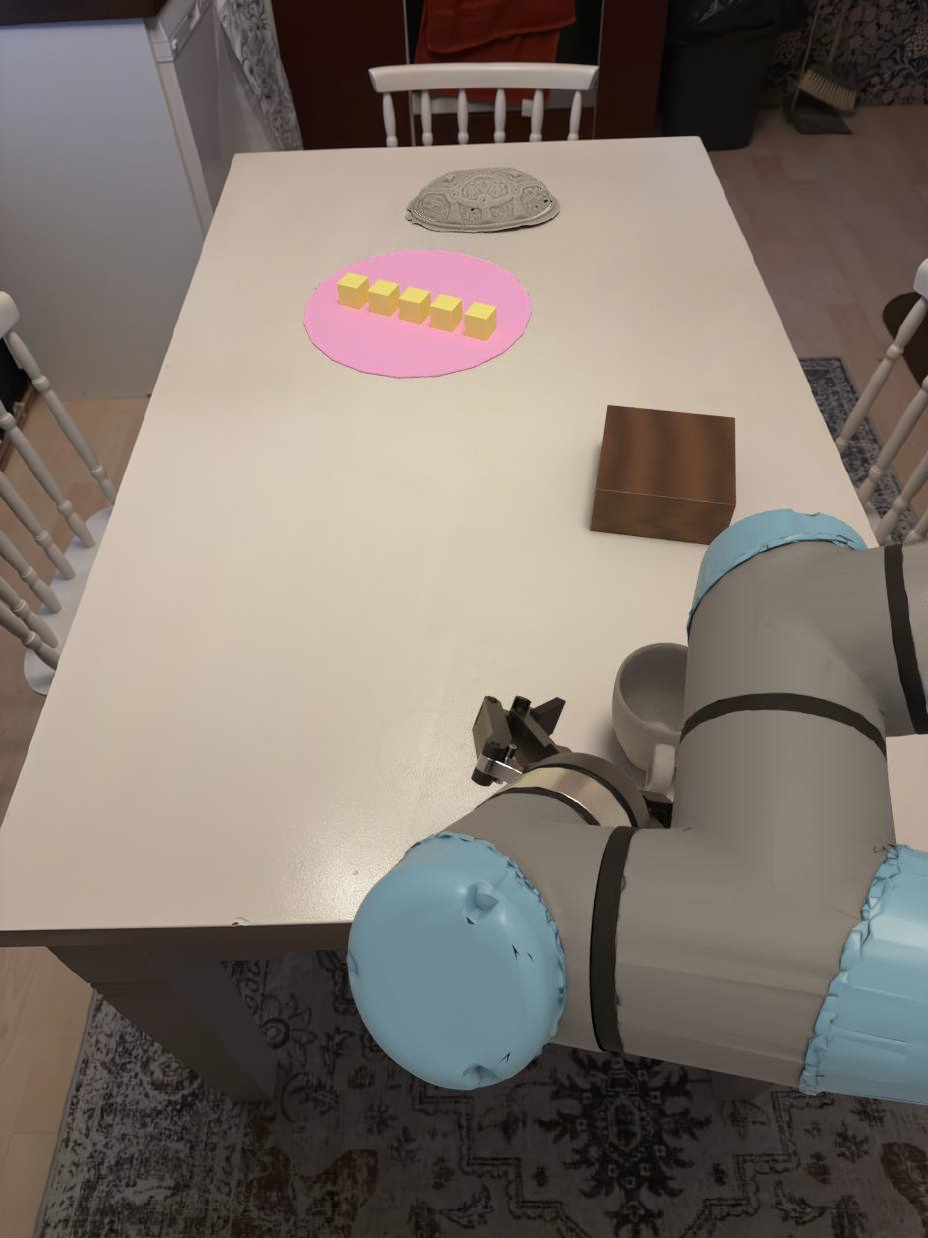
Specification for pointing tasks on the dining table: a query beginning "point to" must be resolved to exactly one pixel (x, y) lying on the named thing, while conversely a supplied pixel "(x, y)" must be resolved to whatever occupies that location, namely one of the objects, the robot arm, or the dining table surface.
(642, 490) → the riser
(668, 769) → the mug
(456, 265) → the platter
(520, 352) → the dining table surface
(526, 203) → the grey domed piece
